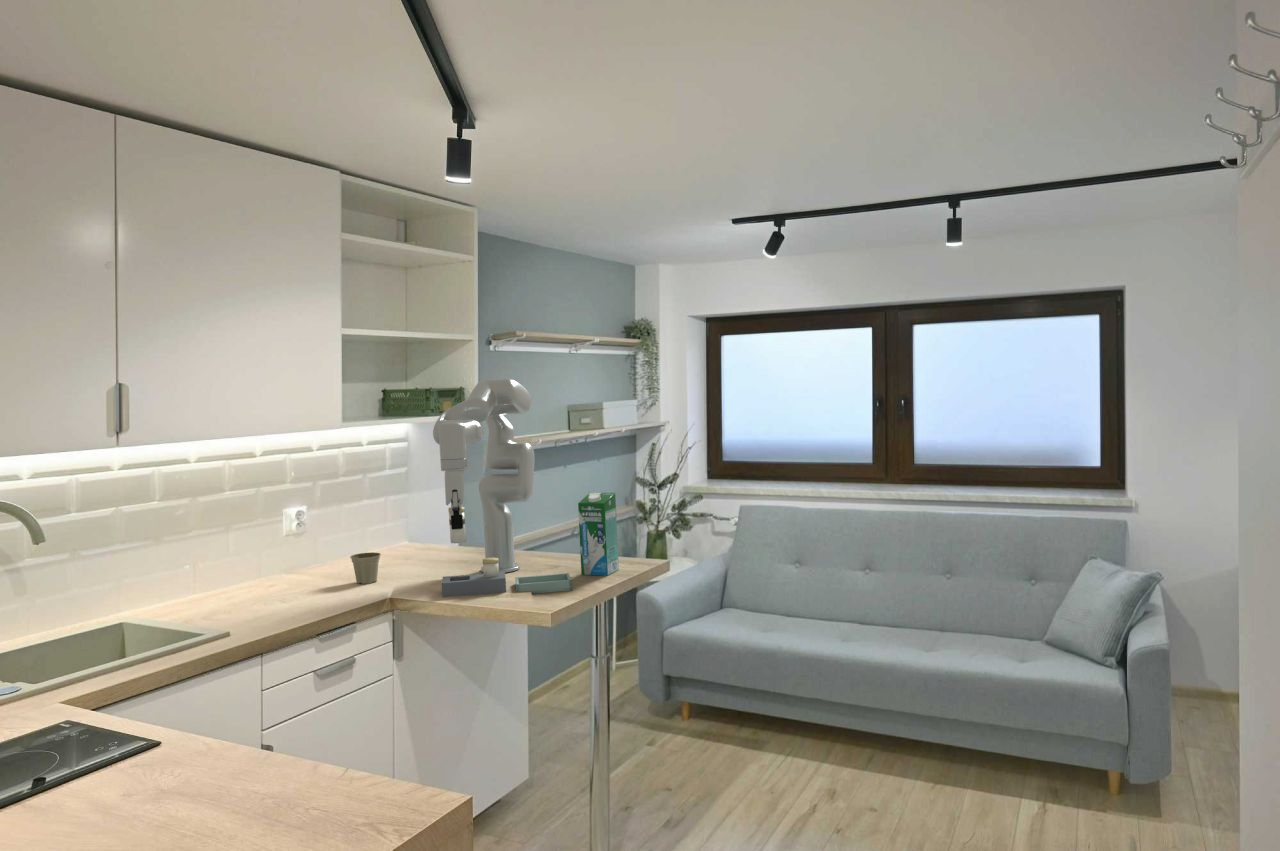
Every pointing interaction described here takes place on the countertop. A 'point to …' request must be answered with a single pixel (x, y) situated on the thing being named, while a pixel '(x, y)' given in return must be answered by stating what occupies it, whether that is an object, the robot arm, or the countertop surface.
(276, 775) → the countertop surface
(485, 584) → the block
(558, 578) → the tray
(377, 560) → the flower pot
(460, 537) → the fuse
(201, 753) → the countertop surface
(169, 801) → the countertop surface
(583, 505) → the milk carton
